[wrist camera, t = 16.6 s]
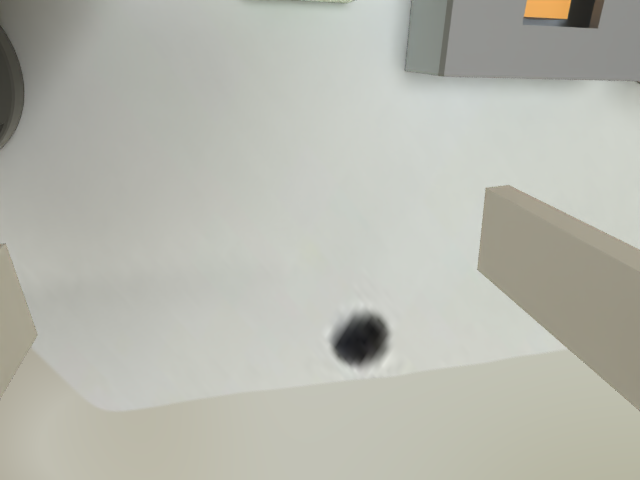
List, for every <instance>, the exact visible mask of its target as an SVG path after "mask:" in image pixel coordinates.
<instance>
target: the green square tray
mask: <svg viewBox="0 0 640 480" xmlns="http://www.w3.org/2000/svg"><path fill="white" fill-rule="evenodd" d="M301 1H319V2H338V3H349V2H352V1H355V0H301Z"/></svg>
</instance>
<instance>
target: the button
mask: <svg viewBox="0 0 640 480" xmlns="http://www.w3.org/2000/svg"><path fill="white" fill-rule="evenodd" d="M570 4H571V0H527V2H526V8H525V13H524V19H540V20H560V19H567V18H568V13H569V8H570Z"/></svg>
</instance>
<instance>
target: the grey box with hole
mask: <svg viewBox="0 0 640 480" xmlns="http://www.w3.org/2000/svg"><path fill="white" fill-rule="evenodd" d="M526 2H527V0H412V3H411V13H410V24H409V34H408V44H407V55H406V65H405V71H410V72H417V73H424V74H431V75H437V76H445V77H486V78H527V79H568V80H609V81H640V0H571V4H570V8H569V13H568V18H567V19H560V20H540V19H524V13H525V8H526Z"/></svg>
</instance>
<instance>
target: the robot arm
mask: <svg viewBox="0 0 640 480" xmlns="http://www.w3.org/2000/svg"><path fill="white" fill-rule="evenodd" d="M23 101H24V86H23V78H22V72H21V68H20V65H19V62H18V58H17V56H16V53H15V51H14V49H13V47H12V45H11V43H10V41H9V39H8V37H7V35H6V34H5V32H4V31H3V29H2V27H1V26H0V149H1V148H2V147H3V146H4V145H5V144H6V143H7V141H8V140H9V139H10V137H11V136H12V134H13V133H14V131H15V129H16V127H17V125H18V122H19V120H20V117H21V113H22V108H23ZM477 270H478V271H479V272H481V273H482V274H483V275H484V276H485V277H486V278H487V279H489V280H490V281H491V282H492V283H493V284H494V285H496V286H497V287H498V288H499V289H500V290H501V291H502V292H504V293H505V294H506V295H507V296H508V297H509V298H510V299H512V300H513V301H514V302H515V303H516V304H517V305H518V306H520V307H521V308H522V309H523V310H524V311H525V312H527V313H528V314H529V315H530V316H531V317H532V318H533V319H535V320H536V321H537V322H538V323H539V324H540V325H541V326H543V327H544V328H545V329H546V330H547V331H548V332H549V333H551V334H552V335H553V336H554V337H555V338H556V339H558V340H559V341H560V342H561V343H562V344H563V345H564V346H566V347H567V348H568V349H569V350H570V351H571V352H572V353H574V354H575V355H576V356H577V357H578V358H579V359H581V360H582V361H583V362H584V363H585V364H586V365H587V366H589V367H590V368H591V369H592V370H593V371H594V372H596V373H597V374H598V375H599V376H600V377H601V378H602V379H603V380H605V381H606V382H607V383H608V384H609V385H610V386H611V387H613V388H614V389H615V390H616V391H617V392H618V393H620V394H621V395H622V396H623V397H624V398H625V399H626V400H628V401H629V402H630V403H631V404H632V405H633V406H635V407H636V408H637V409H638V410H639V411H640V250H639V249H637V248H635V247H633V246H631V245H629V244H627V243H625V242H623V241H621V240H619V239H617V238H615V237H613V236H611V235H609V234H607V233H605V232H603V231H601V230H599V229H597V228H595V227H593V226H591V225H589V224H587V223H584V222H582V221H580V220H578V219H576V218H574V217H572V216H570V215H568V214H566V213H564V212H562V211H560V210H558V209H556V208H554V207H552V206H550V205H548V204H546V203H544V202H542V201H540V200H538V199H536V198H534V197H532V196H530V195H528V194H526V193H524V192H522V191H520V190H518V189H516V188H514V187H512V186H510V185H506V186H498V187H489V188H486V191H485V200H484V210H483V220H482V229H481V239H480V249H479V258H478V268H477ZM37 335H38V334H37V332H36V329H35V326H34V323H33V320H32V317H31V314H30V312H29V309H28V306H27V303H26V300H25V297H24V294H23V292H22V289H21V286H20V283H19V280H18V277H17V275H16V272H15V269H14V266H13V263H12V260H11V257H10V255H9V252H8V249H7V246H6V244H0V399H1V397H2V395H3V393H4V392H5V390H6V388H7V387H8V385H9V383H10V382H11V379H12V378H13V376H14V375H15V373H16V371H17V370H18V368H19V366H20V364H21V363H22V361H23V359H24V358H25V356H26V354H27V353H28V351H29V349H30V347H31V346H32V344H33V342H34V341H35V339H36V337H37Z"/></svg>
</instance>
